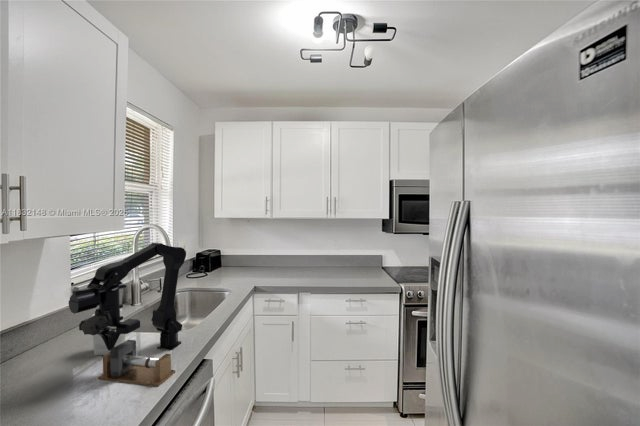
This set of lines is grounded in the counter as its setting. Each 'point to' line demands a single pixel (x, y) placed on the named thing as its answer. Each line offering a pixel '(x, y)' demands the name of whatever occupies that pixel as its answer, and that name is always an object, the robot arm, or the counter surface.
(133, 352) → the collar
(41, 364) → the counter surface
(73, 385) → the counter surface
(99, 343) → the skincare box
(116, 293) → the robot arm
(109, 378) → the pipe rig
